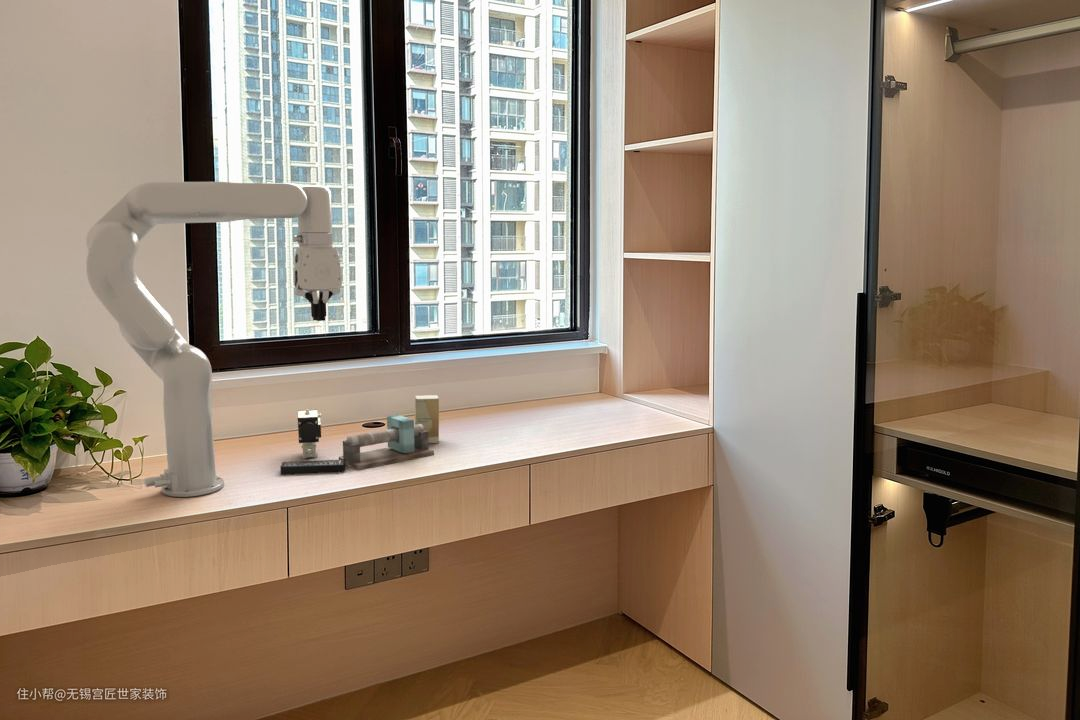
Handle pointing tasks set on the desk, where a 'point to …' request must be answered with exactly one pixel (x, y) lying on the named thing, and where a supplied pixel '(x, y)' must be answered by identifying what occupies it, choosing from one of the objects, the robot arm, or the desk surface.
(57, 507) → the desk surface
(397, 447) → the collar
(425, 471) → the desk surface
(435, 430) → the skincare box
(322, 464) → the multiport hub
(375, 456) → the pipe stand
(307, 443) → the pneumatic valve
